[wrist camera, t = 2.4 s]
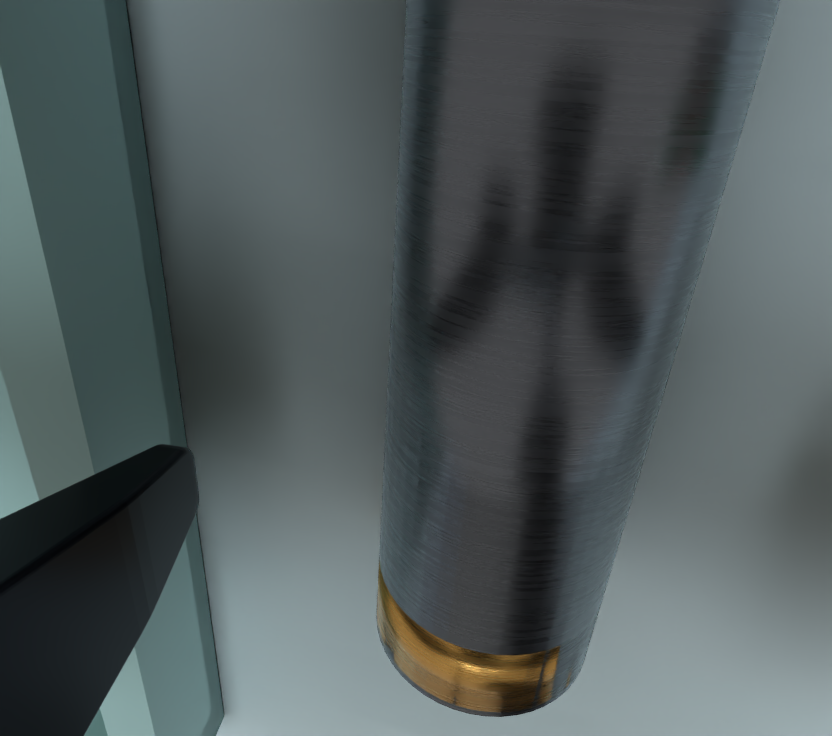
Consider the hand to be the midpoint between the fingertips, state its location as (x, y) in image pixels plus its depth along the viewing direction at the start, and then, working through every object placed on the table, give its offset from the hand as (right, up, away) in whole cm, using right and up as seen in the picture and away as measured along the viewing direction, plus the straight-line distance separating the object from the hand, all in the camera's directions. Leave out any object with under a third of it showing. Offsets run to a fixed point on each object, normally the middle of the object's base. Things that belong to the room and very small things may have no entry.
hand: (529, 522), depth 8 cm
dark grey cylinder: (+1, +5, 0) cm, 5 cm away
